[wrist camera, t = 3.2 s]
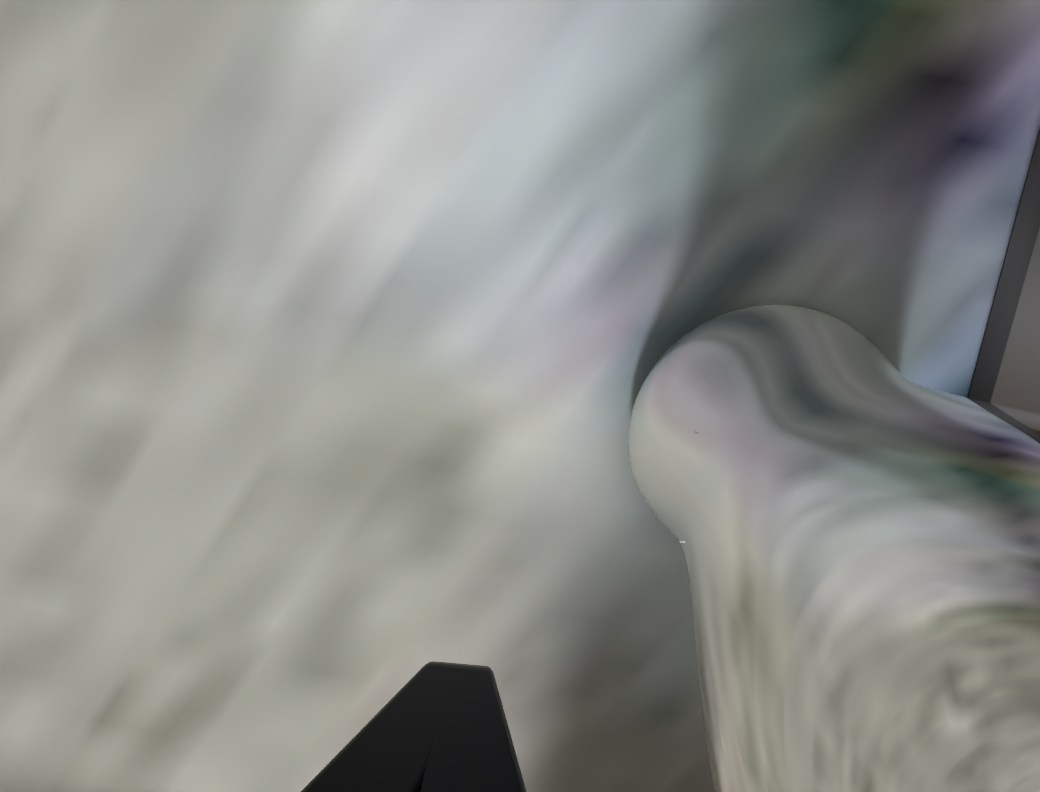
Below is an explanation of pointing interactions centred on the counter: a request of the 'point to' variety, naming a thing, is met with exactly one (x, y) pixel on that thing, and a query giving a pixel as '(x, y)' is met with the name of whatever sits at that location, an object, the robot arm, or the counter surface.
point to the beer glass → (847, 560)
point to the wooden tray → (1016, 313)
